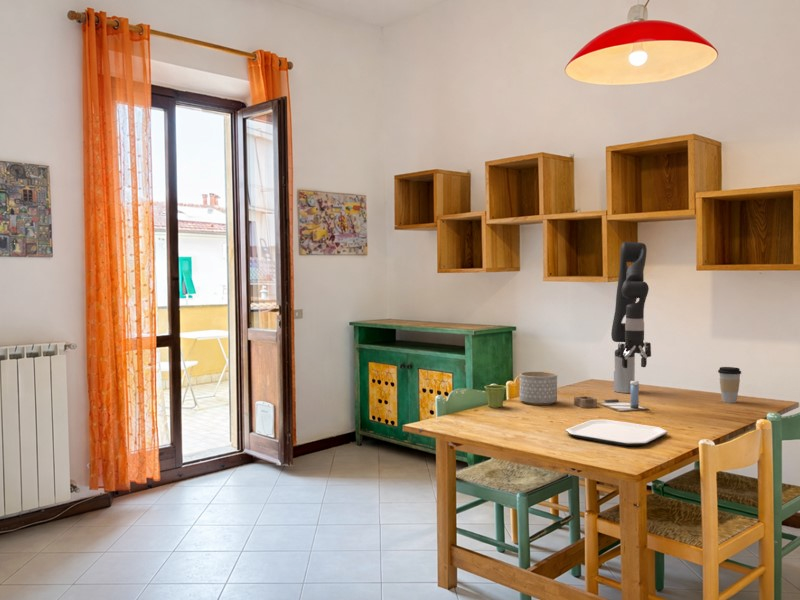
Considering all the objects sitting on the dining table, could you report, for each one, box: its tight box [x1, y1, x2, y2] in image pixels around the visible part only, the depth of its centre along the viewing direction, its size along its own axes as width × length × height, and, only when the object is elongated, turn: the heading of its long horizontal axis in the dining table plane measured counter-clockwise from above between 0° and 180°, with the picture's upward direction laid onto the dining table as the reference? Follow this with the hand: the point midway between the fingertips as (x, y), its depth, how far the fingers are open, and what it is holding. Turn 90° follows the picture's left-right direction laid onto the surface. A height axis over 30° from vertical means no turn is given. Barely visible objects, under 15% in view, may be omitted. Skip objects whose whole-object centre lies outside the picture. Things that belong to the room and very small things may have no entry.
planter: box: [519, 371, 558, 406], centre depth 293 cm, size 16×16×13 cm
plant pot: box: [484, 384, 507, 409], centre depth 284 cm, size 9×9×9 cm
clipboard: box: [597, 398, 650, 413], centre depth 282 cm, size 18×14×2 cm
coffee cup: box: [717, 366, 742, 404], centre depth 291 cm, size 9×9×15 cm
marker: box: [630, 380, 640, 409], centre depth 276 cm, size 3×3×11 cm
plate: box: [565, 419, 669, 447], centre depth 232 cm, size 29×29×2 cm
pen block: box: [573, 395, 598, 409], centre depth 284 cm, size 7×7×4 cm
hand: (634, 367), depth 276 cm, fingers open, 8 cm apart
